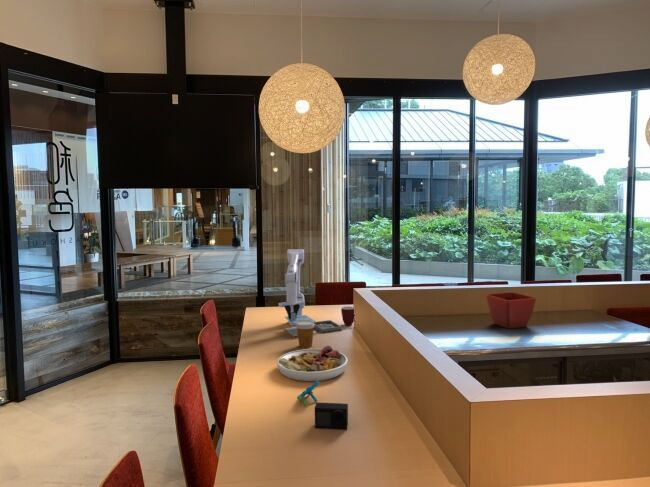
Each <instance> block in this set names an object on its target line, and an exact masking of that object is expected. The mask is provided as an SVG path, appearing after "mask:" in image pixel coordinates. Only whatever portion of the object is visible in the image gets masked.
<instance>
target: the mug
mask: <svg viewBox="0 0 650 487" xmlns="http://www.w3.org/2000/svg"><path fill="white" fill-rule="evenodd" d="M354 307H355V306H342V307H341V308H340V309H341V310H340V311H341V317H342V322H343V323H344V326H349V327H350V326H352V325H354V323H355V322H354V321H355V318H354V316H355V315H354Z"/></svg>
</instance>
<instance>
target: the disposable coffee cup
mask: <svg viewBox="0 0 650 487" xmlns="http://www.w3.org/2000/svg"><path fill="white" fill-rule="evenodd" d="M314 326H315V324H314V322H313V321H307V320H305V321H298V322H297V323H296V325H295V327H296V328H297V333H298V336H297V339H298V340H297V341H298V344H299V348H301V349H310V348H312V347H313V338H314V334H313V331H315V330H314V329H315V328H314Z"/></svg>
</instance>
